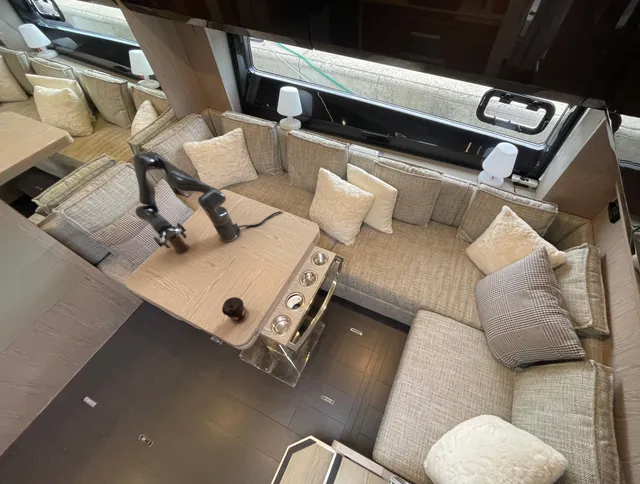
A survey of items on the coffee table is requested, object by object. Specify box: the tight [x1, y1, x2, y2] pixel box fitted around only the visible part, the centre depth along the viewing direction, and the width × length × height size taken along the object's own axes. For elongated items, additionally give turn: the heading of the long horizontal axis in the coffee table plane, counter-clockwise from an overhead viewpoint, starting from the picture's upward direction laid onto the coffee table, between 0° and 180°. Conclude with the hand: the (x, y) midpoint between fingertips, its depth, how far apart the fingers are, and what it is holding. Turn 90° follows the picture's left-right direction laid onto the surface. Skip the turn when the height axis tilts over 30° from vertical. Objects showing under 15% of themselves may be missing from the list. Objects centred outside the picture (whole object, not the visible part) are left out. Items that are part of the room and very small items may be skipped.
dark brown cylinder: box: [221, 296, 248, 323], centre depth 123 cm, size 9×8×13 cm
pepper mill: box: [166, 231, 188, 254], centre depth 145 cm, size 5×5×14 cm
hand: (177, 242), depth 144 cm, fingers open, 8 cm apart
